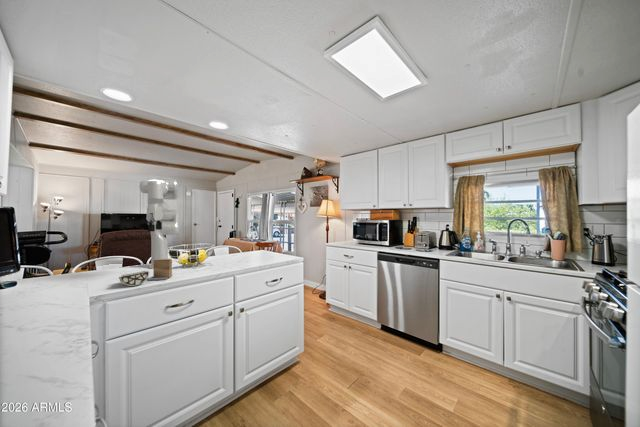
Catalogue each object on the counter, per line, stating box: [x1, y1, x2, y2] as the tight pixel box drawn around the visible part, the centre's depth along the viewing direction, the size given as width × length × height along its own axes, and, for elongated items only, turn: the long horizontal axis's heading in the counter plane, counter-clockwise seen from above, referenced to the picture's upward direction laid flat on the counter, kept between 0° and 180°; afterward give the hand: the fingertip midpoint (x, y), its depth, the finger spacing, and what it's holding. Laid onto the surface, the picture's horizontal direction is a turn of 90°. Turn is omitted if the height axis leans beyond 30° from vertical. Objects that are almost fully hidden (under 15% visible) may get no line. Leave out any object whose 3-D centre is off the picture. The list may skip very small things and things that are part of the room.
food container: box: [118, 270, 150, 287], centre depth 122 cm, size 12×6×10 cm
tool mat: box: [146, 276, 171, 282], centre depth 133 cm, size 9×9×1 cm
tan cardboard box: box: [152, 258, 173, 278], centre depth 133 cm, size 4×8×10 cm, turn 103°
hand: (155, 230), depth 139 cm, fingers open, 9 cm apart
